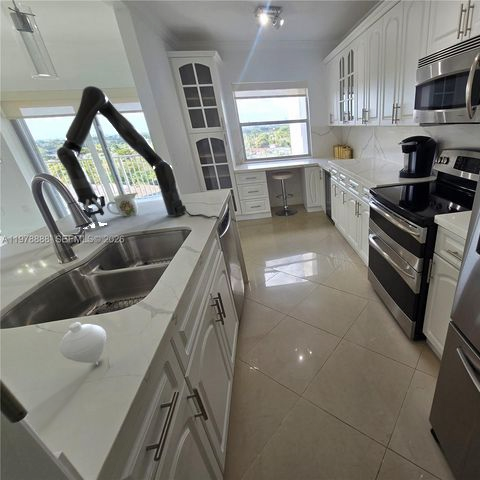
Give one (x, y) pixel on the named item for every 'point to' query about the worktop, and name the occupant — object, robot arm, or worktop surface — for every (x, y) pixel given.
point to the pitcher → (125, 205)
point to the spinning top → (83, 343)
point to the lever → (94, 212)
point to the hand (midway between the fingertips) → (96, 216)
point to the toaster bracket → (94, 221)
